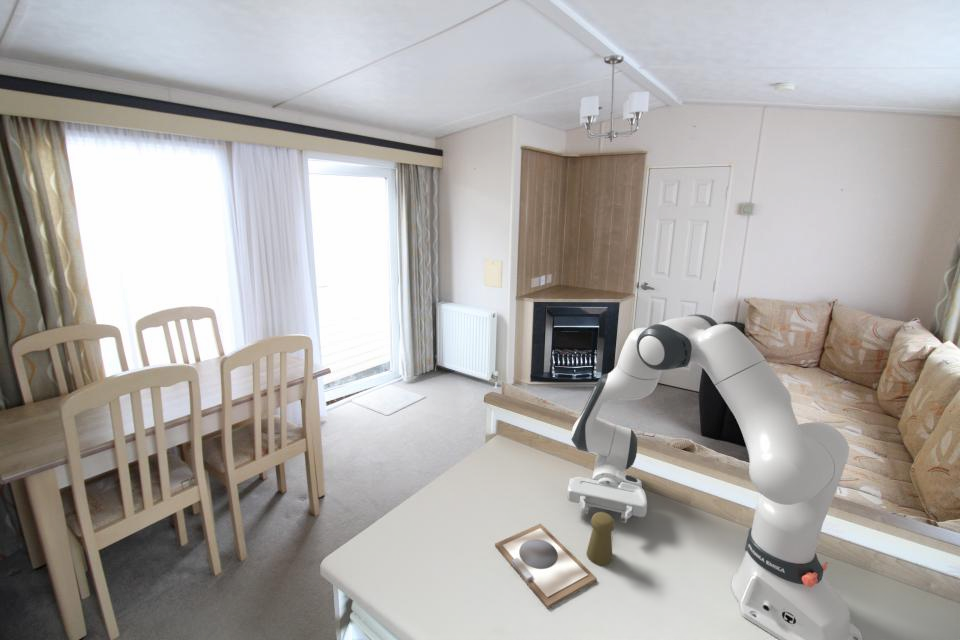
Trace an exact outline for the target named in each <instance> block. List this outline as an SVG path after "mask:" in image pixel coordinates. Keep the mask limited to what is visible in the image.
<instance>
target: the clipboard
mask: <svg viewBox="0 0 960 640" xmlns="http://www.w3.org/2000/svg"><path fill="white" fill-rule="evenodd" d="M494 547H495V548H496V549H497V550H498V552H500V554H501V555H502V556H503V558H504V559H505V560H506V561H507V563H508V564H509V565H510V567H512V568H513V570H514V571H515V573H517V574H518V576H519V577H520V578H521V579H522V581H524V583H525V584H526V585H527V586H528V588H529V589H530V590H531V591H532V593H533V594H534V595H535V596H536V597H537V598H538V600H539V601H540V602H541V603H542V605H543V606H544V607H545V609H549V608H551V607H553V606H555V605H557V604H558V603H560V602H562V601H563V600H566V599H567V598H569V597H571V596H573V595H574V594H576V593H577V592H579V591H581V590H583V589H584V588H587V587H588V586H590V585H592V584H593V583H595V582H597V580H598V579H597V577H596V576H595V575H594V574H593V573H592V572H591V571H590V570H589V568H587V567H586V566H585V565H584V564H583V563H582V562H581V561H580V560H579V559H578V558H577V557H576V556H574V554H572V552H571V551H570V550H568V549H567V547H565V546H564V545H563V544H562V543H561V542H560V541H559V540H558V539H557V537H555V536H554V535H553V534H552V533H551V532H550V531H549V530H548V529H547V528H546V527H544V525H542V523H539V524H536V525H534V526H532V527H530V528H527V529H525V530H523V531H520V532H518V533H516V534H514V535H512V536H509V537H507V538H505V539H502V540H501V541H498V542H495V543H494Z"/></svg>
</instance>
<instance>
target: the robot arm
mask: <svg viewBox="0 0 960 640" xmlns="http://www.w3.org/2000/svg"><path fill="white" fill-rule="evenodd" d="M689 364H694V365H698V366H700V367H701V368H702V369H703V370H704V371H705V373H706V374H707V376H709V378H710V380H711V381H712V383H713V385H714V386H715V388H716V389H717V391H718V393H719V394H720V395H721V397H722V399H723V400H724V402H725V404H726V405H727V407H728V408H729V410H730V412H731V413H732V414H733V416H734V418H735V419H736V422H737V424H738V426H739V429H740V431H741V434H742V437H743V440H744V443H745V447H746V449H747V453H748V459H749V464H748V465H749V467H748V473H749V478H750V481H751V483H752V485H753V486H754V487H755V489H756V490H757V491H758V493H760V495H759V496H758V498H757V502H756V506H755V511H754V515H753V520H752V527H750V528H749V530H748V533H747V535H746V539H745V547H744V551H745V554H744V555H743V559H742V560H741V561H742V562H741V564H740V566H739V568H738V570H737V571H736V573H735V574H734V575H733V577H732V578H731V589H732V591H733V594H734V596H735V597H736V599H737V602H738V603H739V612H740V614H741V615H742V616H743V618H744V619H746V620H748V621H749V622H751V623H753V624H754V625H756V626H758V627H759V628H761V629H762V630H764V631H766V632H767V633H769V634H770V635H772V636H774V637H775V638H776V639H778V640H863V636H862V633H861V630H860V629H859V628H858V627H856V626H855V625H854V624H853V623H852V622H851V612H850V608H849V606H848V604H847V603H846V601H845V600H844V599H843V598H842V597H841V595H839V593H838V592H837V591H836V590H835V589H834V587H833V586H832V584H830V583H829V582H828V580H827V578H826V577H825V576H824V571H825V570H826V569H827V567H828V564H829V563H828V561H826V562H824V563H823V564H821V563H820V560H819V558H818V555H817V552H816V551H817V547H818V543H819V540H820V537H821V536H820V535H821V532H822V528H823V524H824V522H825V519H826V517H827V514H828V512H829V510H830V507H831V505H832V503H833V500H834V497H835V495H836V493H837V490H838V488H839V485H840V482H841V479H842V476H843V473H844V470H845V467H846V464H847V462H848V459H849V455H850V446H849V443H848V440H847V439H846V437H845V436H844V435H843V434H842V433H841V432H840V431H839V430H838V429H837V428H835V427H834V426H831V425H829V424H828V423H823V422H817V421H812V422H805V423H800V424H799V423H798V420H797V417H796V415H795V412H794V410H793V405H792V396H791V393H790V392H789V389H788V388H787V387H786V385H785V384H784V383H783V381H782V380H781V379H780V378H779V376H778V375H777V373H776V372H775V370H774V369H773V368H772V366H771V365H770V364H769V362H768V361H767V360H766V358H765V357H764V355H763V354H762V353H761V352H760V351H759V350H758V348H757V347H756V345H754V343H753V342H752V341H751V340H750V339H749V338H748V337H747V336H746V335H745V334H744V333H743V332H742V331H741V330H739V328H737V327H736V326H734V325H732V324H729V323H721V324H718V322H716V321H715V319H713V318H712V317H710V316H708V315H705V314H697V313H696V314H689V315H687V316H680V317H674V318H669V319H667V320H664V321H661V322H659V323H655V324H651V326H649V327H637V328H635V329H633V330H632V331H631V332H630V333H629V334H628V336H627V338H626V339H625V342H624V343H623V346H622V348H621V351H620V354H619V357H618V360H617V364H616V366H615V367H614V368H613V369H612V370H611V371H610V372H608V373H604V374H602V375H601V376H600V377H599V378H598V380H597V382H596V384H595V386H594V387H593V389H592V391H591V393H590V396H589V397H588V400H587V401H586V403H585V405H584V407H583V409H582V411H581V413H580V415H579V417H578V418H577V420H576V421H575V423H574V424H573V425H572V426H573V427H572V429H571V434H570V437H571V442H572V444H573V445H574V446H575V447H576V449H577V450H578V451H581V452H582V451H583V452H588V453H592V454H595V455H597V456H596V459H595V461H594V467H593V468H594V470H593V472H592V478H587V477H582V476H575V477H570V478H569V480H568V486H567V491H566V498H567V500H568V501H569V502H571V503H576V504H578V505H579V506H580V508H581V513H582V514H584V515H585V514H586V515H588V514H589V507H593V508H598V509H604V510H607V511H612V512H616V513H619V514H620V513H621V514H620V523H621V522H622V523H625V524H627V523H628V522H627V521H628V519H630V518H631V517H632V516H634V517H638V518H644V517H646V516H647V509H648V499H647V495H646V492H645V490H644V489H643V488H642V487H643V485H642V483H643V482H642V480H641V479H639V478H638V477H634V476H632V475H629V474H627V473H626V470H628V469H630V468H631V467H632V466H633V465H634V463H635V461H636V457H637V454H638V453H637V452H638V436H637V435H636V433H635V432H634V430H633V429H631V428H629V427H625V426H622V425H619V424H614V423H611V422H607V421H604V420H601V419H598V417H597V416H598V414H599V413H600V411H601V409H602V407H603V406H604V405H605V404H606V403H610V402H614V401H636V400H640V399H644V398H646V397H648V396H650V395H651V394H652V393H653V392H654V391H655V389H656V387H657V385H658V383H659V381H660V379H661V376H662V371H666V370H667V371H668V370H669V371H670V370H674V369H675V370H676V369H679V368H685V367H687V366H688V365H689Z"/></svg>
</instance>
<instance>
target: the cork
mask: <svg viewBox="0 0 960 640" xmlns="http://www.w3.org/2000/svg"><path fill="white" fill-rule="evenodd" d="M590 523H591V527H592V530H591V534H590V537H589V542H588V545H587V550H586V557H587V559H588V560H589V561H590V562H591V563H592V564H594V565H597V566H600V567H601V566H604V567H605V566H608V565H610V564H611V563H612V562H613V544H612V543H613V542H612V532H613V531H614V528H615V520H614V518H613V517H612V516H611V514H609V513H607V512H604V511H599V512H598V511H597V512H596V513H594V514H593V515H592V516H591V521H590Z"/></svg>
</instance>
